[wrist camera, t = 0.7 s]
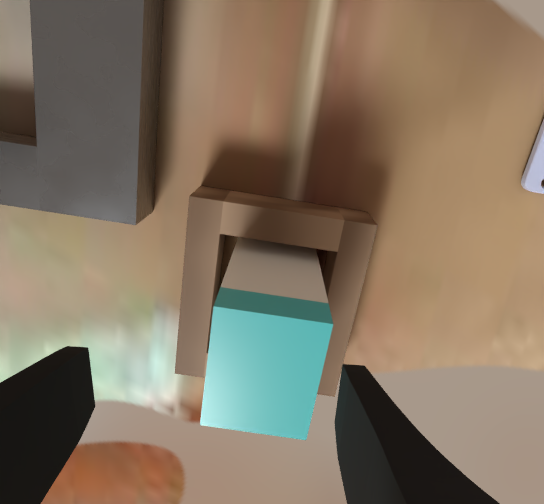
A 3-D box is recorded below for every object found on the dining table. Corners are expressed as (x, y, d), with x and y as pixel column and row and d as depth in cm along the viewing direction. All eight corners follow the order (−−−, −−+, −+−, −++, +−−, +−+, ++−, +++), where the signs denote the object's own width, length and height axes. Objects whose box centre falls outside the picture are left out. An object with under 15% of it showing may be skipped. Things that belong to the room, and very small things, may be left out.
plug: (315, 245, 21) (333, 324, 13) (298, 328, 22) (306, 440, 15) (239, 234, 21) (213, 306, 13) (228, 318, 22) (200, 425, 15)
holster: (366, 211, 20) (377, 225, 18) (329, 367, 23) (334, 396, 21) (200, 185, 20) (189, 196, 17) (186, 346, 23) (174, 373, 21)
